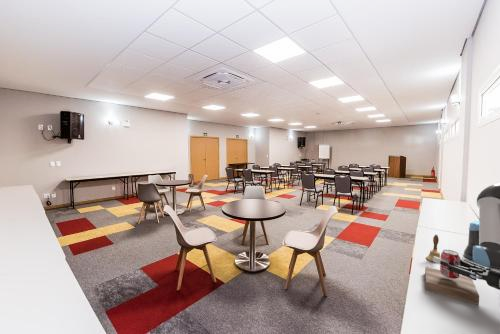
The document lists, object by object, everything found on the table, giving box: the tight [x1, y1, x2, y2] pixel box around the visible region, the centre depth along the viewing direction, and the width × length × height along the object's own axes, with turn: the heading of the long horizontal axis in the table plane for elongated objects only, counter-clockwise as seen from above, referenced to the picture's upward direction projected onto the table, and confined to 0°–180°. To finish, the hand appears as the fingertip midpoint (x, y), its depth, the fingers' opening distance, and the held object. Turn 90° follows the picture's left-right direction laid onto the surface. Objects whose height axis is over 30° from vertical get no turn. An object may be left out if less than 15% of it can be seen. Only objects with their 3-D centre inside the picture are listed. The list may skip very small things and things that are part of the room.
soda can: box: [439, 249, 461, 279], centre depth 108 cm, size 7×7×12 cm
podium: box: [424, 266, 480, 306], centre depth 109 cm, size 18×18×4 cm
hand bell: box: [425, 234, 441, 262], centre depth 137 cm, size 8×8×16 cm
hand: (438, 257), depth 113 cm, fingers closed on soda can, 7 cm apart
